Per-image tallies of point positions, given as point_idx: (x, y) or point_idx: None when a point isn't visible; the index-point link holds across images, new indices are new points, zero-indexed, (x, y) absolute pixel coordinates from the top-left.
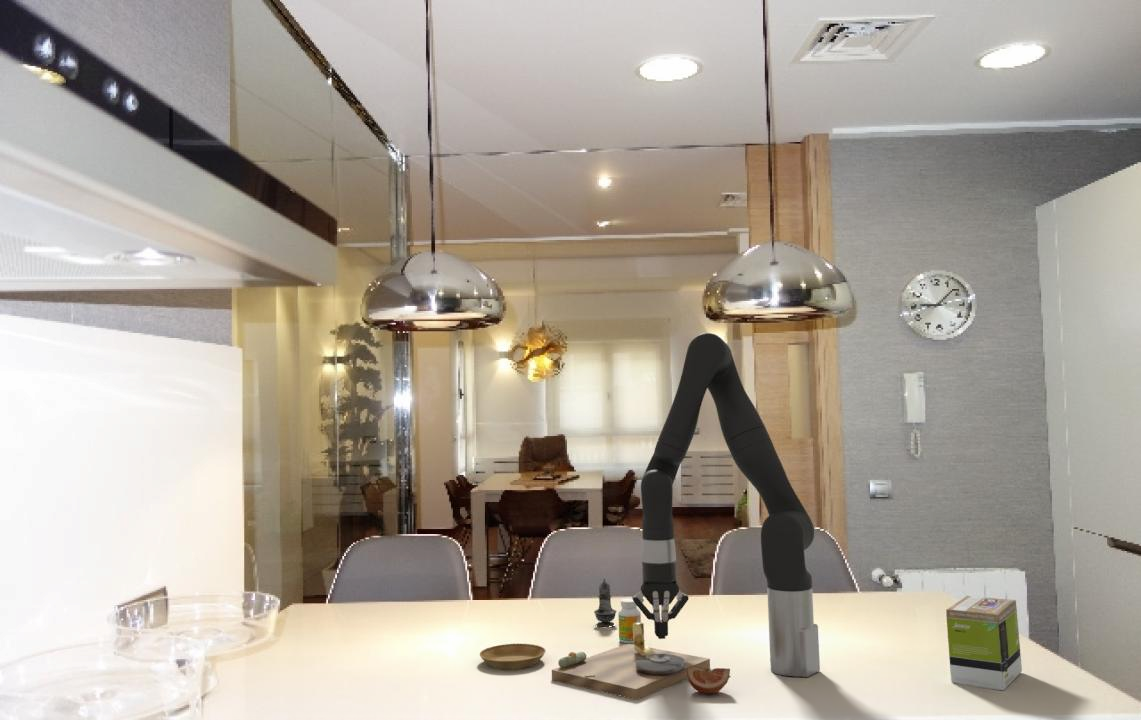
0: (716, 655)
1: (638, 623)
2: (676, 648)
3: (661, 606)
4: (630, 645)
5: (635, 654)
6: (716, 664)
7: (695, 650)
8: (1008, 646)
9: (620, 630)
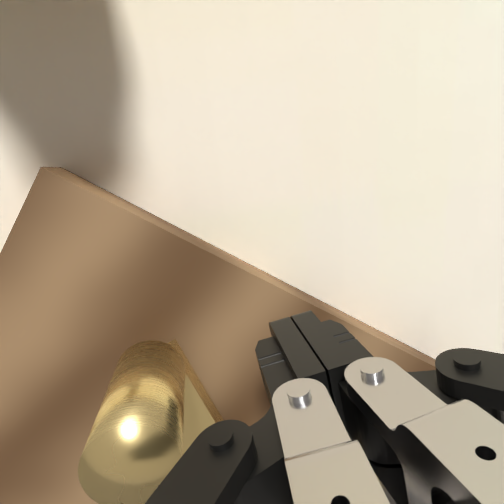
0: (501, 175)
1: (131, 462)
2: (319, 52)
3: (411, 446)
4: (69, 214)
5: None
6: (486, 314)
7: (415, 89)
8: None
9: None
